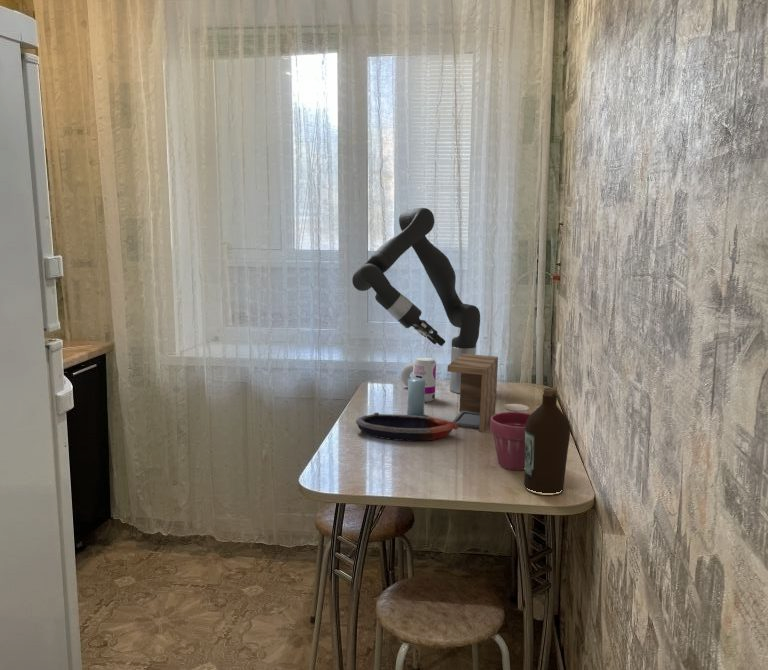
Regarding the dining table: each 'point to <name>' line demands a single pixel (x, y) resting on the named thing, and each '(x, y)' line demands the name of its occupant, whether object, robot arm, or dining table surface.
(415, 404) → the tall pale blue cylinder
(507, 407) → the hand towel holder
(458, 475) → the dining table surface
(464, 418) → the tray
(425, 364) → the supplement can
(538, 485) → the olive oil
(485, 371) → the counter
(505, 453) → the plant pot
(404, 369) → the donut
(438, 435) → the dish
